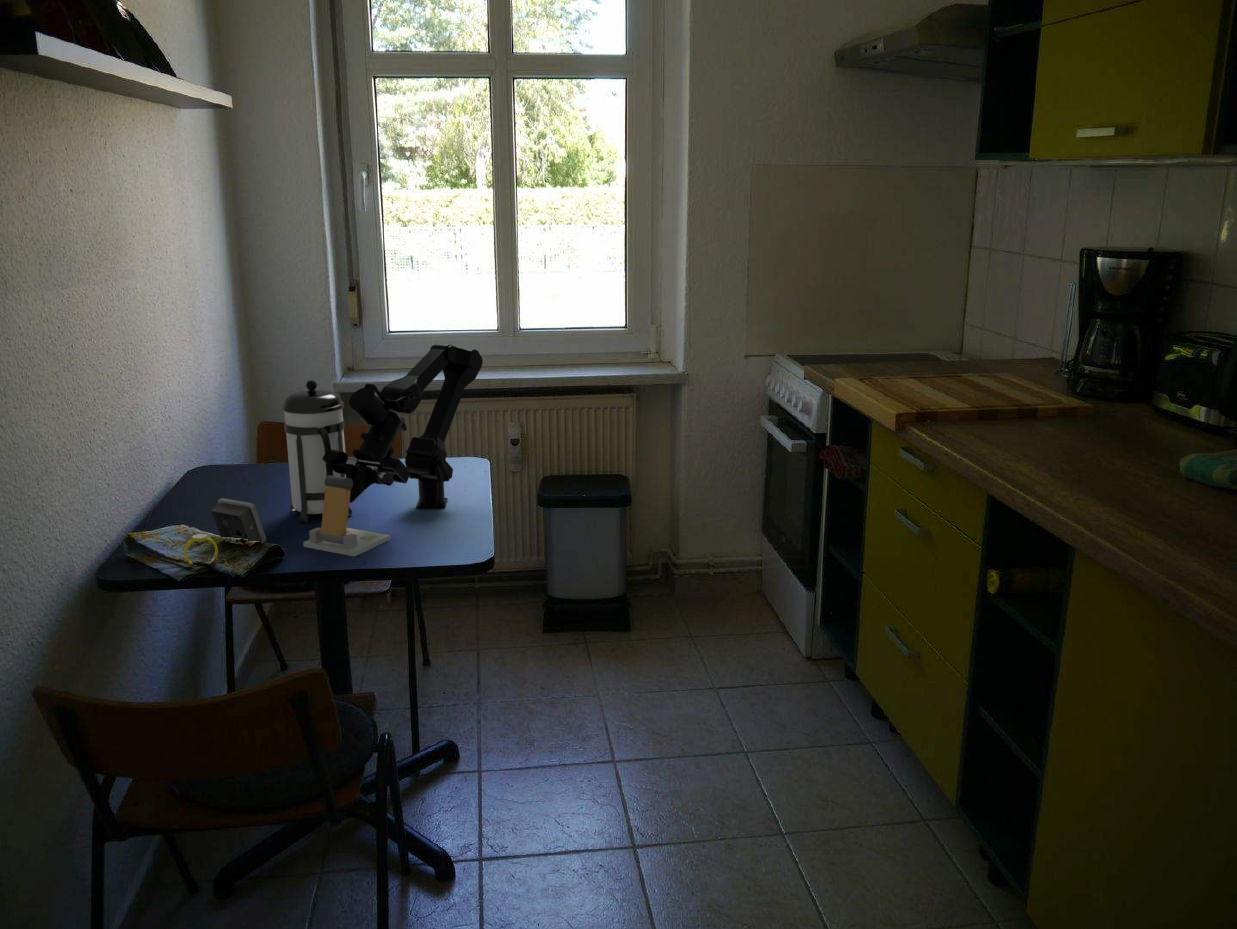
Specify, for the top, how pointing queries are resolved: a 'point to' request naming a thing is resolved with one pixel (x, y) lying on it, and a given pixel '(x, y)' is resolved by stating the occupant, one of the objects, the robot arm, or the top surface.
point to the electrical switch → (238, 520)
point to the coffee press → (312, 445)
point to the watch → (199, 538)
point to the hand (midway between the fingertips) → (348, 501)
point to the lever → (335, 509)
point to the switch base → (347, 542)
